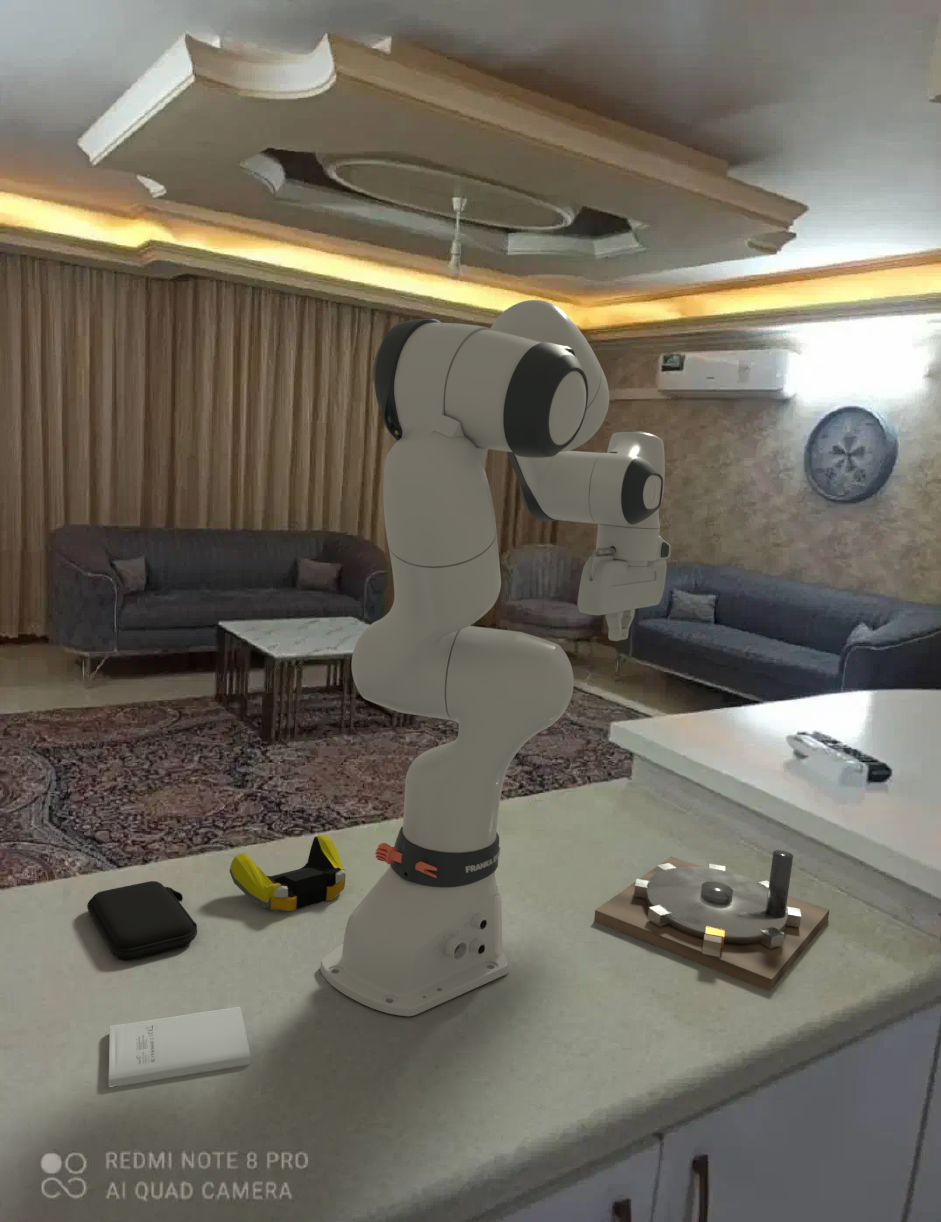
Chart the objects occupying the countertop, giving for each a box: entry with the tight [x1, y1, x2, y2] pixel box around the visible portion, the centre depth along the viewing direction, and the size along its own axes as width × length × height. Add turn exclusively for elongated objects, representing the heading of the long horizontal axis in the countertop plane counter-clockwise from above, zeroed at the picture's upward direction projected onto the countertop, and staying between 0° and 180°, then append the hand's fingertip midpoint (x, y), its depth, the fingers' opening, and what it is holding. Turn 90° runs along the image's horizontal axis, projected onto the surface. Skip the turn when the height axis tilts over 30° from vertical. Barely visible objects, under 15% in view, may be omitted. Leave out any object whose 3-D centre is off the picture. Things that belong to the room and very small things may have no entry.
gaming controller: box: [229, 834, 347, 912], centre depth 119 cm, size 15×6×10 cm
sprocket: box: [634, 849, 801, 948], centre depth 119 cm, size 20×20×10 cm
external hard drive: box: [107, 1006, 251, 1088], centre depth 87 cm, size 2×8×12 cm
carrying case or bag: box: [86, 880, 198, 962], centre depth 109 cm, size 11×3×15 cm
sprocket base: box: [593, 856, 830, 992], centre depth 120 cm, size 23×23×3 cm
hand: (617, 639), depth 134 cm, fingers closed
